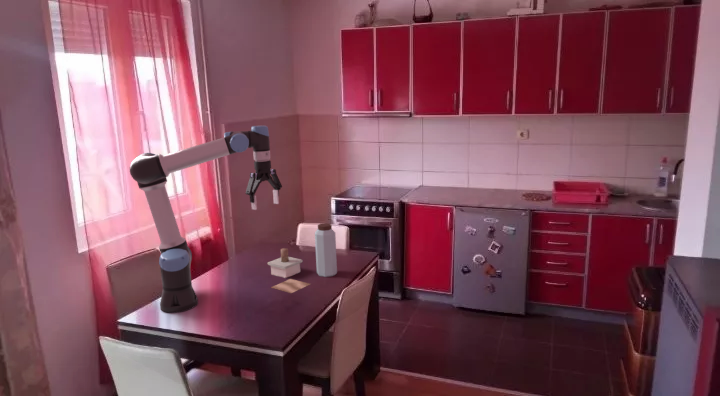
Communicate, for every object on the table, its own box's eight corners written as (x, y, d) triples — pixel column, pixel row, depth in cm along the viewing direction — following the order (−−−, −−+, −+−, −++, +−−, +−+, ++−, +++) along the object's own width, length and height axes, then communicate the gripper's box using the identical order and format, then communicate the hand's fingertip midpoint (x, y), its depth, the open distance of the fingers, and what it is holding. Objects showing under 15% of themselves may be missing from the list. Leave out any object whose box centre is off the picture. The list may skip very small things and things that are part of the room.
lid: (285, 269, 240) (284, 254, 239) (267, 264, 247) (266, 250, 246) (302, 262, 250) (301, 248, 248) (285, 258, 257) (284, 244, 255)
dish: (286, 279, 243) (285, 268, 242) (271, 275, 249) (270, 264, 247) (300, 272, 251) (299, 262, 249) (285, 269, 256) (285, 259, 255)
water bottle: (338, 271, 251) (336, 222, 246) (335, 278, 241) (333, 227, 236) (318, 271, 252) (316, 222, 247) (315, 278, 242) (312, 227, 238)
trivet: (291, 294, 224) (291, 293, 224) (270, 288, 231) (270, 287, 231) (311, 285, 234) (310, 283, 234) (290, 279, 242) (290, 278, 242)
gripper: (246, 164, 215) (250, 212, 220) (287, 157, 235) (290, 202, 239) (234, 163, 220) (238, 211, 224) (276, 156, 239) (279, 200, 244)
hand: (265, 206), depth 232 cm, fingers open, 13 cm apart
